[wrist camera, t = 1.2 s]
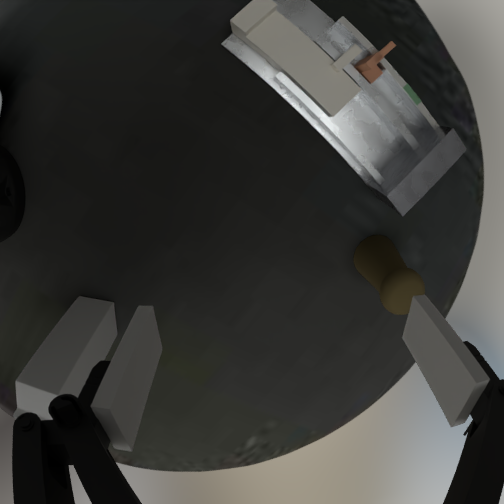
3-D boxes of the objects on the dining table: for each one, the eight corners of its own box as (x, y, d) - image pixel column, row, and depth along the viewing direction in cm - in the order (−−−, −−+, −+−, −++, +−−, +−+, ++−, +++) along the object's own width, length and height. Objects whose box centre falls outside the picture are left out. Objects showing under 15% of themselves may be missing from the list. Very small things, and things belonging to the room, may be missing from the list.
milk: (118, 333, 46) (64, 449, 26) (84, 327, 45) (21, 433, 25) (114, 300, 43) (47, 418, 23) (78, 294, 43) (2, 400, 23)
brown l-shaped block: (350, 69, 31) (365, 63, 26) (373, 49, 29) (391, 40, 25) (365, 85, 31) (382, 81, 26) (387, 64, 30) (407, 58, 25)
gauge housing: (221, 45, 31) (215, 30, 24) (288, -13, 27) (296, -37, 21) (379, 199, 38) (402, 216, 31) (435, 142, 35) (466, 149, 28)
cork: (400, 237, 40) (440, 275, 30) (388, 278, 42) (421, 323, 32) (359, 232, 39) (392, 271, 29) (348, 275, 42) (375, 323, 32)
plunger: (232, 32, 29) (229, 20, 25) (277, -7, 27) (281, -23, 23) (326, 116, 33) (337, 116, 28) (369, 76, 31) (385, 72, 26)
